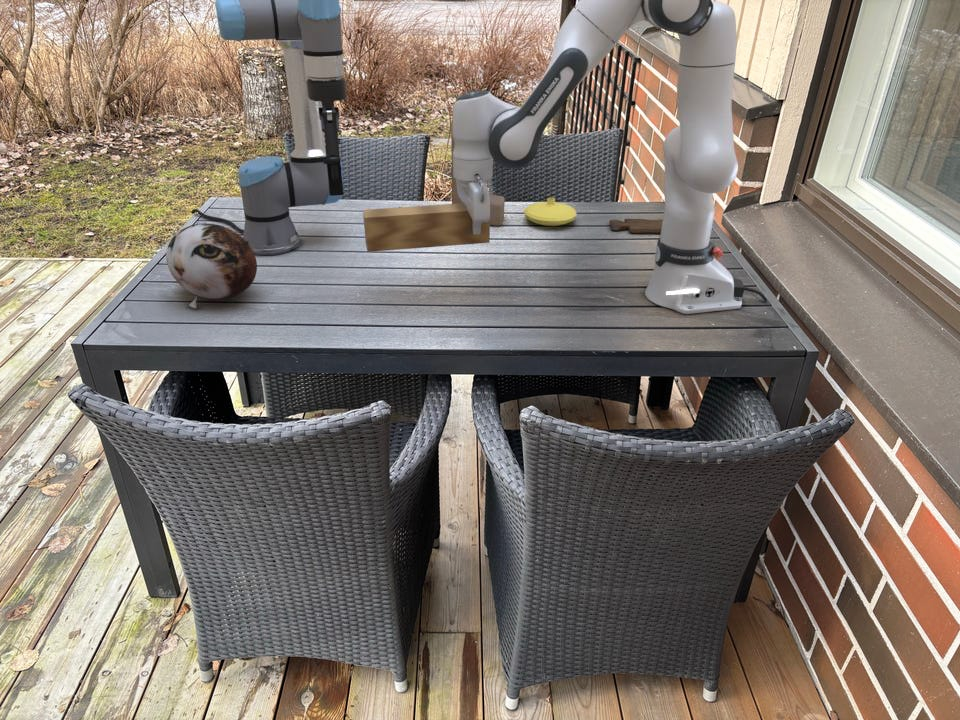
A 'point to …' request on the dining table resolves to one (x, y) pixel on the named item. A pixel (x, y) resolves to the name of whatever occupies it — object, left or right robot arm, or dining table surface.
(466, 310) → the dining table surface
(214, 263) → the cat face balloon
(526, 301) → the dining table surface
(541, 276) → the dining table surface
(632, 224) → the dark wooden board
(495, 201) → the decorative block
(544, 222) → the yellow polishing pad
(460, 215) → the bar
